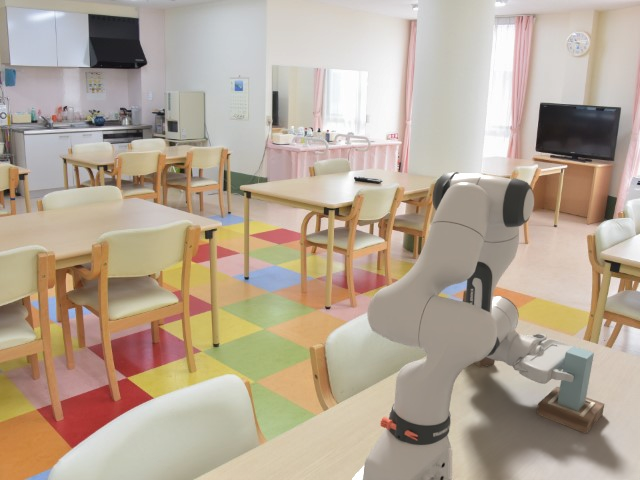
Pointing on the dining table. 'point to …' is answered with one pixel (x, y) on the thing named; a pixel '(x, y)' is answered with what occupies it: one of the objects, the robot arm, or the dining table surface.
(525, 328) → the dining table surface
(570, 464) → the dining table surface
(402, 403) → the robot arm
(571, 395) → the column
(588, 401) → the plinth
